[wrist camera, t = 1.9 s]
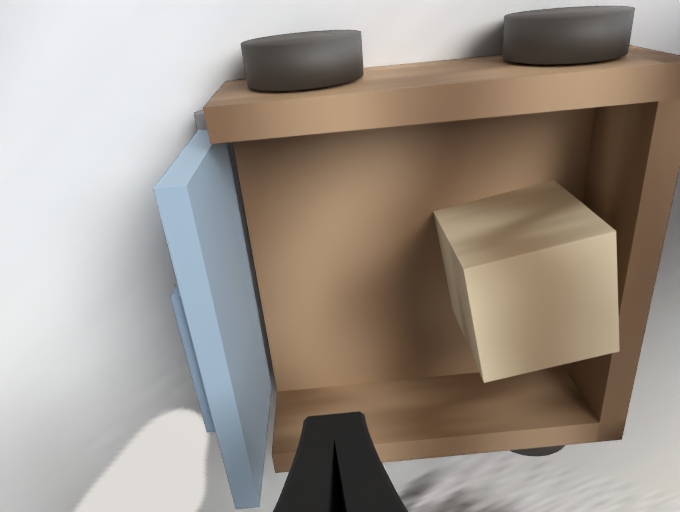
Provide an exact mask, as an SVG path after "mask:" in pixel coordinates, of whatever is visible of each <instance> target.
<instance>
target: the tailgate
mask: <svg viewBox="0 0 680 512" xmlns="http://www.w3.org/2000/svg"><path fill="white" fill-rule="evenodd" d="M194 117H195V122H196V127H197V132H196V134H195V135H194V136H193V137H192V139H191V140H190V141H189V143H188V144H187V145H186V147H185V148H184V149H183V150H182V152H181V153H180V154H179V156H178V157H177V158H176V160H175V161H174V162H173V163H172V165H171V166H170V167H169V169H168V170H167V171H166V173H165V174H164V175H163V176H162V178H161V179H160V180H159V182H158V183H157V184H156V186H155V187H154V188H153V190H154V194H155V198H156V202H157V205H158V209H159V213H160V217H161V221H162V225H163V229H164V233H165V237H166V240H167V244H168V248H169V252H170V256H171V260H172V264H173V268H174V271H175V275H176V279H177V283H178V284H176V286H175V288H174V290H173V292H172V295H171V300H172V304H173V308H174V312H175V315H176V319H177V323H178V327H179V330H180V334H181V338H182V341H183V345H184V349H185V353H186V356H187V360H188V364H189V368H190V371H191V375H192V379H193V382H194V386H195V390H196V394H197V397H198V401H199V405H200V409H201V412H202V416H203V420H204V424H205V427H206V431H207V432H215V431H216V435H217V438H218V442H219V446H220V450H221V454H222V458H223V462H224V466H225V469H226V473H227V477H228V481H229V485H230V489H231V493H232V497H233V501H234V504H235V508H236V509H242V508H253V507H260V497H261V487H262V477H263V467H264V457H265V447H266V438H267V428H268V418H269V408H270V398H271V388H272V386H271V381H270V375H269V370H268V364H267V359H266V353H265V348H264V342H263V337H262V332H261V326H260V321H259V315H258V310H257V304H256V299H255V293H254V288H253V283H252V277H251V272H250V266H249V261H248V255H247V250H246V244H245V239H244V233H243V228H242V223H241V217H240V212H239V206H238V201H237V195H236V190H235V184H234V179H233V174H232V168H231V163H230V157H229V152H228V146H227V142H226V143H216V144H210V140H209V135H208V130H207V125H206V120H205V115H204V110H201V111H197V112H195V113H194Z"/></svg>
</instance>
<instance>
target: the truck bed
mask: <svg viewBox="0 0 680 512" xmlns="http://www.w3.org/2000/svg"><path fill="white" fill-rule="evenodd" d="M634 10H635V8H634V7H628V6H585V7H566V8H553V9H542V10H532V11H524V12H518V13H512V14H508V15H505V16H504V33H503V52H502V55H495V56H484V57H474V58H463V59H453V60H442V61H432V62H421V63H411V64H400V65H390V66H379V67H369V68H363V57H362V40H361V31H357V30H326V31H311V32H300V33H291V34H282V35H275V36H268V37H262V38H257V39H252V40H248V41H244V42H242V43H241V49H242V55H243V62H244V68H245V74H246V79H243V80H232V81H226V82H225V83H224V84H223V85H222V86H221V87H220V89H219V90H218V91H217V92H216V93H215V94H214V95H213V97H212V98H211V99H210V100H209V101H208V102H207V104H206V105H205V106H204V107H203V110H204V115H205V120H206V125H207V130H208V135H209V140H210V144H216V143H226V142H233V147H234V153H235V158H236V164H237V169H238V175H239V181H240V186H241V192H242V197H243V203H244V209H245V214H246V220H247V225H248V231H249V237H250V242H251V248H252V253H253V259H254V265H255V270H256V276H257V281H258V287H259V293H260V298H261V304H262V309H263V315H264V321H265V326H266V332H267V337H268V343H269V349H270V354H271V360H272V365H273V371H274V377H275V382H276V388H277V399H276V411H275V423H274V434H273V446H272V458H273V463H274V468H275V473H279V472H289V471H290V469H291V466H292V463H293V460H294V457H295V454H296V451H297V447H298V444H299V440H300V436H301V432H302V427H303V422H304V420H305V419H306V418H307V417H308V416H316V415H327V414H337V413H347V412H358V411H360V412H361V413H363V414H364V415H365V420H366V423H367V427H368V430H369V433H370V436H371V439H372V441H373V444H374V446H375V449H376V451H377V454H378V456H379V458H380V460H381V462H382V463H383V462H393V461H403V460H414V459H424V458H434V457H445V456H455V455H466V454H476V453H486V452H497V451H507V450H510V451H512V452H515V453H518V454H522V455H527V456H545V455H550V454H553V453H555V452H557V451H559V450H561V449H562V448H563V447H564V446H565V445H569V444H580V443H590V442H600V441H611V440H621V439H622V436H623V431H624V426H625V422H626V417H627V412H628V408H629V403H630V398H631V393H632V389H633V384H634V379H635V375H636V370H637V365H638V361H639V356H640V351H641V346H642V342H643V337H644V332H645V328H646V323H647V318H648V314H649V309H650V304H651V299H652V295H653V290H654V285H655V281H656V276H657V271H658V266H659V262H660V257H661V252H662V248H663V243H664V238H665V234H666V229H667V224H668V219H669V215H670V210H671V205H672V201H673V196H674V191H675V187H676V182H677V177H678V172H679V168H680V55H676V54H671V53H666V52H661V51H656V50H651V49H646V48H641V47H636V46H631V45H629V43H630V37H631V30H632V24H633V17H634ZM552 180H555V181H556V182H557V183H559V184H560V185H561V186H562V187H563V188H565V189H566V190H567V191H568V192H569V193H571V194H572V195H573V196H574V197H576V198H577V199H578V200H579V201H580V202H582V203H583V204H584V205H585V206H586V207H588V208H589V209H590V210H591V211H592V212H594V213H595V214H596V215H597V216H599V217H600V218H601V219H602V220H603V221H605V222H606V223H607V224H608V225H609V226H611V227H612V228H613V229H614V230H616V244H617V279H618V315H619V352H615V353H610V354H606V355H602V356H597V357H593V358H589V359H585V360H580V361H576V362H572V363H567V364H563V365H559V366H554V367H550V368H546V369H542V370H537V371H533V372H529V373H524V374H520V375H516V376H511V377H507V378H503V379H499V380H494V381H490V382H486V383H484V382H483V379H482V377H481V375H480V372H479V370H478V368H477V365H476V363H475V361H474V358H473V356H472V354H471V351H470V349H469V347H468V344H467V342H466V339H465V337H464V335H463V332H462V330H461V328H460V325H459V323H458V321H457V318H456V316H455V314H454V311H453V308H452V303H451V298H450V293H449V288H448V283H447V278H446V273H445V268H444V263H443V258H442V253H441V248H440V243H439V238H438V233H437V228H436V223H435V218H434V213H433V211H436V210H440V209H444V208H448V207H452V206H456V205H460V204H463V203H467V202H471V201H475V200H479V199H483V198H487V197H490V196H494V195H498V194H502V193H506V192H510V191H513V190H517V189H521V188H525V187H529V186H533V185H537V184H540V183H544V182H548V181H552Z"/></svg>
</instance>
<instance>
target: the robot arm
mask: <svg viewBox="0 0 680 512" xmlns="http://www.w3.org/2000/svg"><path fill="white" fill-rule="evenodd" d="M273 512H408V511H407V509H406V508H405V506H404V504H403V503H402V501H401V499H400V497H399V495H398V494H397V492H396V490H395V488H394V486H393V484H392V482H391V480H390V478H389V476H388V475H387V473H386V471H385V469H384V467H383V465H382V462H381V460H380V458H379V456H378V454H377V451H376V449H375V446H374V444H373V441H372V439H371V436H370V433H369V430H368V427H367V423H366V420H365V415H364V414H363V413H361V412H360V411H358V412H347V413H337V414H327V415H316V416H308V417H307V418H306V419H305V420H304V422H303V427H302V432H301V436H300V440H299V444H298V447H297V451H296V454H295V457H294V460H293V463H292V466H291V469H290V471H289V474H288V476H287V479H286V482H285V484H284V487H283V490H282V492H281V495H280V497H279V499H278V502H277V504H276V506H275V508H274V511H273Z"/></svg>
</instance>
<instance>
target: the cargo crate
mask: <svg viewBox="0 0 680 512" xmlns="http://www.w3.org/2000/svg"><path fill="white" fill-rule="evenodd" d="M433 213H434V218H435V223H436V228H437V233H438V238H439V243H440V248H441V253H442V258H443V263H444V268H445V273H446V278H447V283H448V288H449V293H450V298H451V303H452V308H453V311H454V314H455V316H456V318H457V321H458V323H459V325H460V328H461V330H462V332H463V335H464V337H465V339H466V342H467V344H468V347H469V349H470V351H471V354H472V356H473V358H474V361H475V363H476V365H477V368H478V370H479V372H480V375H481V377H482V379H483V382H484V383H486V382H490V381H494V380H499V379H503V378H507V377H511V376H516V375H520V374H524V373H529V372H533V371H537V370H542V369H546V368H550V367H554V366H559V365H563V364H567V363H572V362H576V361H580V360H585V359H589V358H593V357H597V356H602V355H606V354H610V353H615V352H619V315H618V279H617V244H616V230H614V229H613V228H612V227H611V226H609V225H608V224H607V223H606V222H605V221H603V220H602V219H601V218H600V217H599V216H597V215H596V214H595V213H594V212H592V211H591V210H590V209H589V208H588V207H586V206H585V205H584V204H583V203H582V202H580V201H579V200H578V199H577V198H576V197H574V196H573V195H572V194H571V193H569V192H568V191H567V190H566V189H565V188H563V187H562V186H561V185H560V184H559V183H557V182H556V181H555V180H552V181H548V182H544V183H540V184H537V185H533V186H529V187H525V188H521V189H517V190H513V191H510V192H506V193H502V194H498V195H494V196H490V197H487V198H483V199H479V200H475V201H471V202H467V203H463V204H460V205H456V206H452V207H448V208H444V209H440V210H436V211H433Z"/></svg>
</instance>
